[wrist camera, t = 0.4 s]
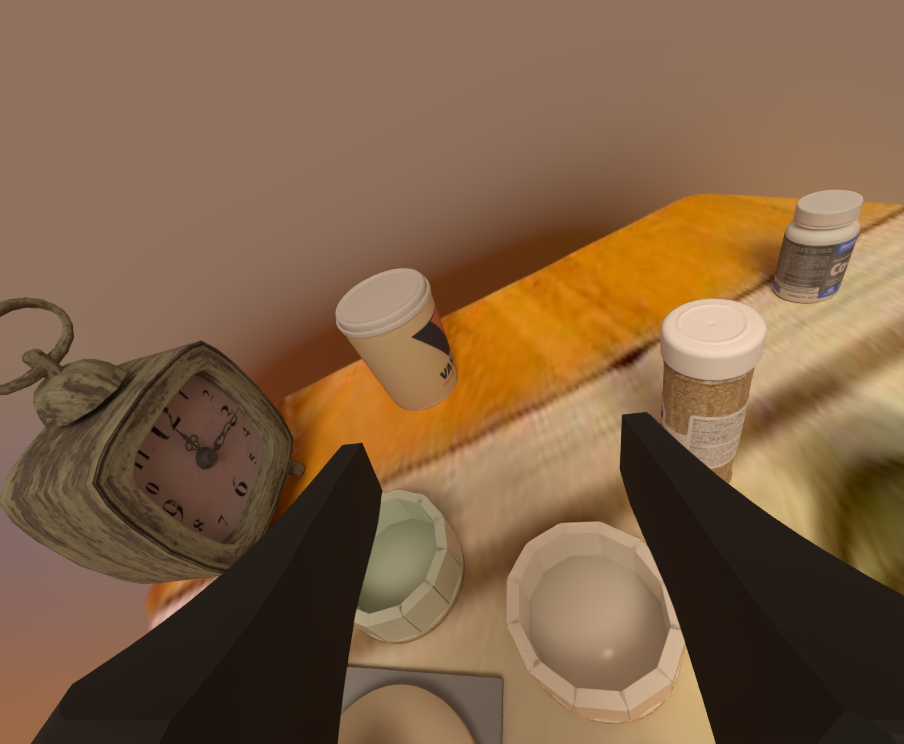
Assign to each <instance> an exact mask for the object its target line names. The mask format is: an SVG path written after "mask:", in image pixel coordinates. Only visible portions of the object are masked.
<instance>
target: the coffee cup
mask: <svg viewBox="0 0 904 744" xmlns="http://www.w3.org/2000/svg"><path fill="white" fill-rule="evenodd" d="M336 323H337V326H338V328H339V329H340V331H341V332H342V333H343V334H344V335H346V337H347V338H348V340H349V341H350V342H351V344H352V345H353V347H354V348H355V349H356V351H357V352H358V354H359V355H360V356H361V358H362V359H363V360H364V362H365V363H366V364H367V366H368V367H369V369H370V370H371V371H372V373H373V374H374V375H375V377H376V378H377V379H378V381H379V382H380V383H381V385H382V386H383V387H384V389H385V390H386V391H387V393H388V394H389V395H390V397H391V398H392V399H393V400H394V402H395V403H396V404H397V405H398V406H400V407H401V408H403V409H407V410H422V409H426V408H429V407H432V406H434V405H436V404H438V403H440V402H441V401H442V400H444V399H445V398H446V397H447V396H448V395H449V394H450V393H451V392H452V390H453V389H454V387H455V385H456V383H457V369H456V366H455V363H454V359H453V356H452V353H451V350H450V347H449V344H448V341H447V338H446V335H445V332H444V329H443V326H442V323H441V320H440V317H439V314H438V311H437V309H436V306H435V303H434V300H433V297H432V295H431V288H430V284H429V282H428V280H427V279H426V278H425V277H424V276H422V274H421V273H419V272H418V271H416V270H413V269H408V268H407V269H406V268H401V269H393V270H389V271H385V272H382V273H379V274H377V275H374V276H372V277H370V278H368V279H366V280H364V281H362V282H361V283H359V284H358V285H356V286H355V287H354V288H352V289H351V290H350V291H349V292H348V293H347V294H346V295H345V296H344V297H343V298H342V300H341V301H340V302H339V304H338V306H337V308H336Z"/></svg>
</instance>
